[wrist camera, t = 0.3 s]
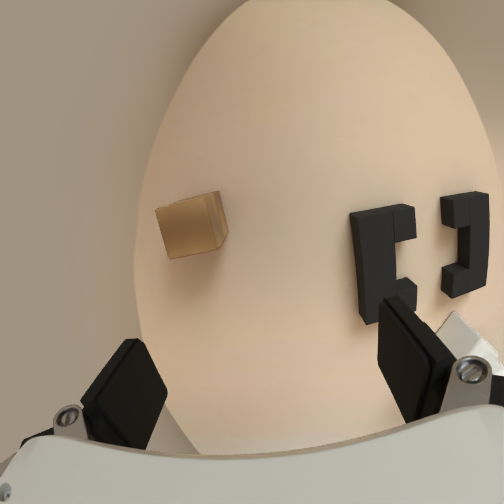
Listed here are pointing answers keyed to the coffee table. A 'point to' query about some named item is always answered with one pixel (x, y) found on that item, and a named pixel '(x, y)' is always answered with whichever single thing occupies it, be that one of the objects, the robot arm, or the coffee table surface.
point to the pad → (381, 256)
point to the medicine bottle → (468, 342)
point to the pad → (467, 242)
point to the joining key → (192, 225)
